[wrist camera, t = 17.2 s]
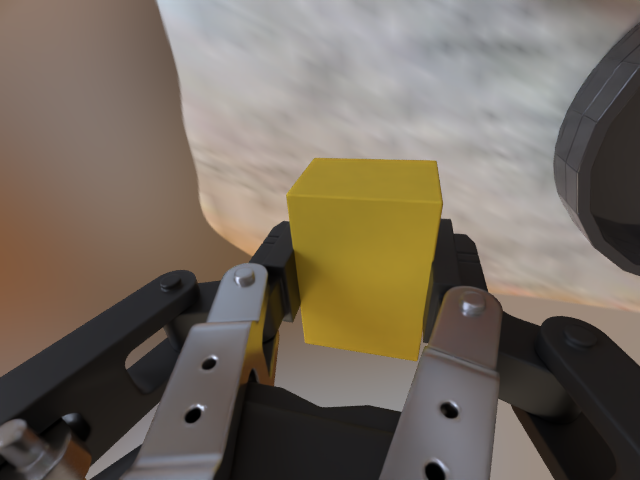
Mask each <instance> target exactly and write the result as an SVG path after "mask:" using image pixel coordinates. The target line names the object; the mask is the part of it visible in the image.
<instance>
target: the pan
mask: <svg viewBox="0 0 640 480" xmlns="http://www.w3.org/2000/svg"><path fill="white" fill-rule="evenodd" d="M554 179H555V183H556V188H557V192H558V194H559V197H560V199H561V201H562V203H563V205H564V207H565V208H566V210H567V211H568V213H569V215H570V217H571V219H572V221H573V222H574V223H575V224H576V226H577V227H578V228H579V230H580V231H581V232H582V233H583V235H584V236H585V237H586V238H587V240H588V241H589V242H590V243H591V245H592V246H593V247H594V248H595V249H596V250H598V251H599V252H600V253H602V254H603V255H604V256H605V257H607V258H608V259H609V260H611V261H612V262H613V263H614V264H616V265H617V266H618V267H619V268H621V269H622V270H624V271H626V272H629V273H632V274H635V275H638V276H640V23H638V24H637V25H636V26H635V27H634V28H632V29H631V30H630V31H629V32H628V33H627V34H626V35H625V36H624V37H623V38H622V39H621V40H620V41H619V42H618V43H617V44H616V45H615V46H614V47H613V48H612V49H611V50H610V51H609V52H608V54H607V55H606V56H605V57H604V58H603V59H602V61H601V62H600V63H599V64H598V65H597V66H596V68H595V69H594V70H593V71H592V73H591V74H590V75H589V77H588V78H587V80H586V81H585V83H584V84H583V85H582V87H581V88H580V90H579V91H578V93H577V95H576V97H575V98H574V100H573V102H572V104H571V106H570V107H569V109H568V111H567V114H566V116H565V118H564V121H563V123H562V126H561V128H560V131H559V135H558V139H557V143H556V147H555V155H554Z"/></svg>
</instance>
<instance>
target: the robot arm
mask: <svg viewBox="0 0 640 480" xmlns="http://www.w3.org/2000/svg"><path fill="white" fill-rule="evenodd" d="M300 304H301V301H300V293H299V285H298V277H297V269H296V261H295V253H294V249H293V244H292V237H291V229H290V221H289V222H288V221H283V222H281V223H280V224H278V225H277V226H275V227H273V229H272V230H271V232H270V233H269V234H268V237H266V239H265V240H264V242H263V244H261V246H260V247H259V249H258V250H257V251H256V253H255V254H254V256H253V257H252V259H251V260H250V261H249V263H245V264H240V265H238V266H235V267H233V268H231V269H229V270H228V271H227V272H226V273H225V274H224V275H223V277H222V279H221V281H213V282H205V283H197V280H196V277H195V275H194V274H193V273H192V272H190V271H186V270H177V271H172V272H169V273H166V274H163V275H161V276H159V277H158V278H156V279H155V280H153V281H151V282H150V283H148V284H147V285H145V286H144V287H142V288H141V289H139V290H137V291H136V292H134V293H133V294H131V295H129V296H128V297H126V298H125V299H123V300H122V301H120V302H118V303H117V304H115V305H114V306H112V307H111V308H109V309H107V310H106V311H104V312H103V313H101V314H99V315H98V316H96V317H95V318H93V319H92V320H90V321H88V322H87V323H85V324H84V325H82V326H81V327H79V328H77V329H76V330H74V331H73V332H71V333H70V334H68V335H67V336H65V337H63V338H62V339H60V340H59V341H57V342H55V343H54V344H52V345H51V346H49V347H48V348H46V349H44V350H43V351H41V352H40V353H38V354H37V355H35V356H33V357H32V358H30V359H29V360H27V361H26V362H24V363H23V364H21V365H19V366H18V367H16V368H14V369H13V370H11V371H10V372H8V373H7V374H5V375H3V376H2V377H0V480H86V478H85V476H86V474H87V472H88V470H89V468H90V467H91V465H92V464H94V463H95V462H96V461H97V460H98V459H99V458H100V457H101V456H102V455H103V454H104V453H105V452H106V451H108V450H109V449H110V448H111V447H112V446H113V445H114V444H115V443H116V442H117V441H118V440H119V439H120V438H121V437H123V436H124V435H125V434H126V433H127V432H128V431H129V430H130V429H131V428H132V427H133V426H134V425H135V424H136V423H137V422H138V421H140V420H141V419H142V418H143V417H144V416H145V415H146V414H147V413H148V412H149V411H150V410H151V409H152V408H153V407H154V406H156V405H157V404H158V403H159V402H160V403H159V405H158V408H157V410H156V413H155V415H154V417H153V420H152V422H151V425H150V427H149V430H148V432H147V434H146V437H145V439H144V442H143V444H141V445H140V446H138V447H137V448H135V449H134V450H132V451H131V452H130V453H128V454H127V455H125V456H124V457H122V458H121V459H119V460H118V461H116V462H115V463H113V464H112V465H111V466H109V467H108V468H106V469H105V470H103V471H102V472H100V473H99V474H97V475H96V476H94V477H93V478H91V479H90V480H490V472H491V462H492V453H493V443H494V433H495V423H496V413H497V404H498V399H501V400H503V401H505V402H507V403H509V404H511V406H512V409H513V411H514V413H515V414H516V416H517V417H518V419H519V421H520V422H521V424H522V426H523V428H524V429H525V431H526V432H527V434H528V436H529V438H530V439H531V441H532V442H533V444H534V446H535V447H536V449H537V451H538V453H539V454H540V456H541V458H542V459H543V461H544V463H545V464H546V466H547V468H548V469H549V471H550V473H551V474H552V476H553V478H554V479H555V480H640V366H639V365H638V364H637V363H636V362H635V361H634V360H633V359H631V358H630V357H629V356H628V355H627V354H626V353H625V352H624V351H623V350H622V349H621V348H620V347H619V346H618V345H617V344H616V343H615V342H613V341H612V340H611V339H610V338H609V337H608V336H607V335H606V334H605V333H603V332H602V331H601V330H599V329H598V328H596V327H594V326H593V325H591V324H589V323H587V322H584V321H582V320H579V319H575V318H571V317H565V316H556V317H550V318H548V319H546V320H545V321H544V322H543V323H542V325H541V326H538V325H535V324H533V323H530V322H527V321H523V320H521V319H518V318H516V317H513V316H511V315H509V314H507V313H506V312H504V311H503V309H502V306H501V304H500V302H499V301H498V300H497V299H496V298H495V297H494V296H493V295H492V294H490V293H488V289H487V286H486V282H485V278H484V274H483V271H482V267H481V264H480V260H479V256H478V252H477V249H476V245H475V243H474V242H473V241H472V240H471V239H470V238H469V237H468V236H467V235H466V234H454V233H453V228H452V222H451V219H440V225H439V232H438V238H437V244H436V250H435V257H434V261H433V262H432V265H431V271H430V277H429V284H428V290H427V296H426V303H425V309H424V315H423V342H424V343H428V346H425V347H424V349H423V352H422V355H421V358H420V361H419V363H418V367H417V369H416V372H415V375H414V378H413V381H412V384H411V387H410V390H409V393H408V396H407V399H406V402H405V404H404V407H403V410H402V412H399V411H394V410H389V409H384V408H380V407H374V406H370V405H365V406H347V407H346V406H345V407H319V406H317V405H315V404H313V403H311V402H309V401H307V400H305V399H303V398H301V397H299V396H297V395H295V394H293V393H291V392H289V391H287V390H285V389H283V388H280V387H275V386H274V382H275V372H276V364H277V354H278V345H279V330H278V329H279V327H280V324H281V322H282V321H286V322H293V321H294V319H295V316H296V314H297V311H298V309H299V306H300ZM162 327H163V328H164V330H165V332H166V334H167V338H166V339H165V340H164V341H162V342H161V343H160V344H159V345H157V346H156V347H155V348H154V349H152V350H151V351H150V352H148V353H147V354H146V355H145V356H143V357H142V358H141V359H140V360H139V361H137V362H136V363H135V364H133V365H132V366H131V367H130V368H128V369H127V370H126V368H125V361H126V358H127V356H128V355H129V354H130V352H131V351H132V350H133V349H135V348H136V347H137V346H139V345H140V344H141V343H143V342H144V341H145V340H146V339H147V338H149V337H151V336H152V335H153V334H154V333H156V332H157V331H158V330H160V329H161V328H162Z"/></svg>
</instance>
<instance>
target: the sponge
mask: <svg viewBox="0 0 640 480" xmlns="http://www.w3.org/2000/svg"><path fill="white" fill-rule="evenodd" d="M286 198H287V205H288V213H289V221H290V229H291V237H292V244H293V249H294V253H295V261H296V269H297V277H298V285H299V293H300V301H301V304H300V307H301V314H302V322H303V330H304V338H305V342H306V343H308V344H313V345H320V346H326V347H332V348H338V349H344V350H350V351H356V352H363V353H369V354H375V355H381V356H387V357H393V358H399V359H405V360H412V361H417V360H418V355H419V350H420V342H421V337H422V331H423V315H424V309H425V303H426V296H427V290H428V284H429V277H430V271H431V265H432V262H433V261H434V257H435V250H436V244H437V238H438V232H439V225H440V219H441V213H442V207H443V200H442V193H441V187H440V180H439V174H438V167H437V162H436V161H430V160H384V159H338V158H314V159H313V160H312V162H311V163H310V164H309V166H308V167H307V168H306V170H305V171H304V172H303V173H302V175H301V176H300V177H299V179H298V180H297V181H296V183H295V184H294V185H293V186H292V188H291V189H290V190H289V192H288V193H287V195H286Z"/></svg>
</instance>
